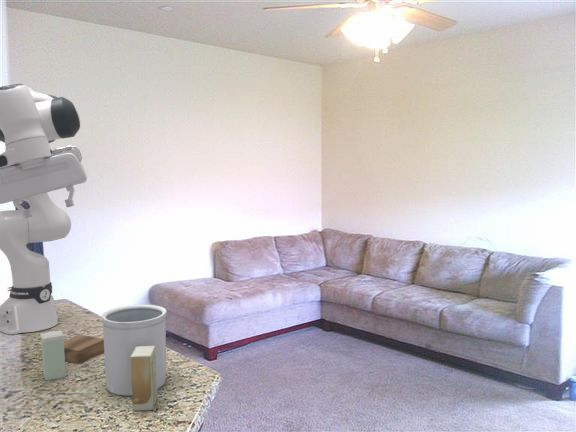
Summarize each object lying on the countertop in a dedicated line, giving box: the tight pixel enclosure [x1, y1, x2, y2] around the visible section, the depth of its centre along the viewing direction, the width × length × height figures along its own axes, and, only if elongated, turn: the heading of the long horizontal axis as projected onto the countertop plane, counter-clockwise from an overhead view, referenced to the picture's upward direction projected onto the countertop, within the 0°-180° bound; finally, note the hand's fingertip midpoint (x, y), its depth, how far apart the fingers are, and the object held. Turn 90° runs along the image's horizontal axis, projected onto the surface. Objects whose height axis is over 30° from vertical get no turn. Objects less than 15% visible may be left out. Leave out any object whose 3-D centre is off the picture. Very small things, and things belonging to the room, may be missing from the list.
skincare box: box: [130, 346, 158, 412], centre depth 110 cm, size 6×4×12 cm
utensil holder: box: [101, 304, 168, 396], centre depth 120 cm, size 15×15×18 cm
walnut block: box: [64, 334, 104, 365], centre depth 140 cm, size 10×10×4 cm
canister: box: [40, 329, 67, 381], centre depth 126 cm, size 5×5×11 cm
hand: (49, 212), depth 117 cm, fingers open, 8 cm apart
